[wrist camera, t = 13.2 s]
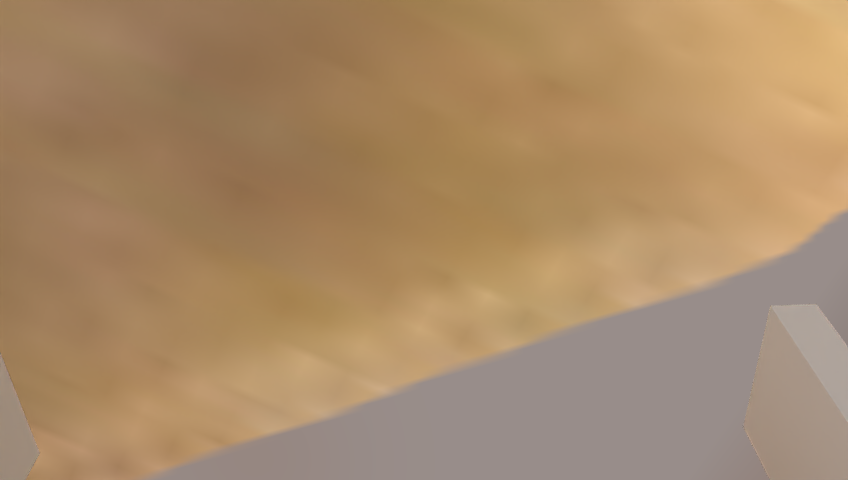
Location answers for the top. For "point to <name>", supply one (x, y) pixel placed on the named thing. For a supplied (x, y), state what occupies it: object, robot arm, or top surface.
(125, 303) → the top surface
